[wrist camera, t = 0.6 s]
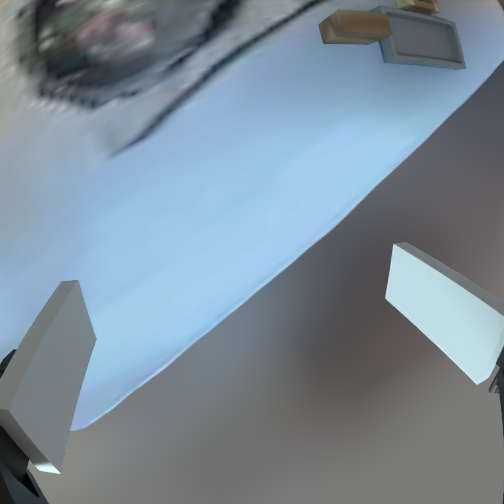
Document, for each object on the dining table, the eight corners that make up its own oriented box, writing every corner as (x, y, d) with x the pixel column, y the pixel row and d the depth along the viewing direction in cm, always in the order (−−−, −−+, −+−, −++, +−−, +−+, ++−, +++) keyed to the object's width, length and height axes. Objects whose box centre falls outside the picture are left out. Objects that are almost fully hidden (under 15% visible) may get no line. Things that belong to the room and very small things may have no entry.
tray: (370, 10, 31) (379, 6, 29) (444, 25, 33) (454, 22, 30) (384, 63, 34) (394, 60, 32) (455, 69, 36) (465, 68, 34)
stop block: (318, 24, 31) (338, 9, 25) (362, 26, 32) (386, 14, 26) (323, 43, 32) (345, 31, 27) (367, 44, 33) (392, 35, 27)
